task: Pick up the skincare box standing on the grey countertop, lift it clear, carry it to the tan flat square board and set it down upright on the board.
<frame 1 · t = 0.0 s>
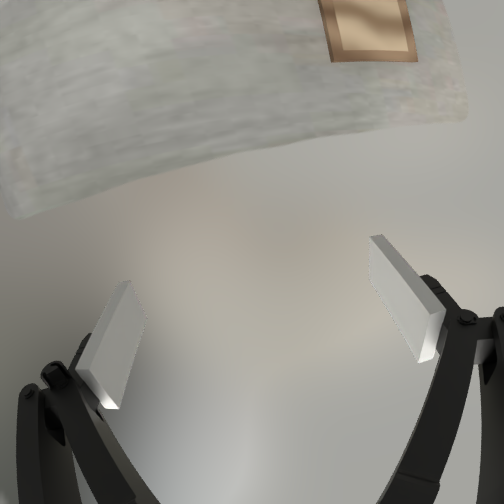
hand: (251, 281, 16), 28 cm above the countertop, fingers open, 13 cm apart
tan flat square board: (366, 19, 31), on the countertop
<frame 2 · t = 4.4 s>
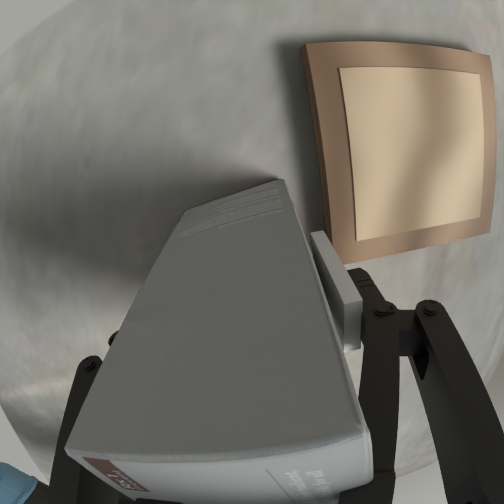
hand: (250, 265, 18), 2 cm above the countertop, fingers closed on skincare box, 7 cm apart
skincare box: (247, 247, 20), on the countertop, touching gripper
tan flat square board: (414, 146, 17), on the countertop
when the fingers open (5 cm above the countertop, at t = 9.7 s): skincare box drops 1 cm, resting on tan flat square board.
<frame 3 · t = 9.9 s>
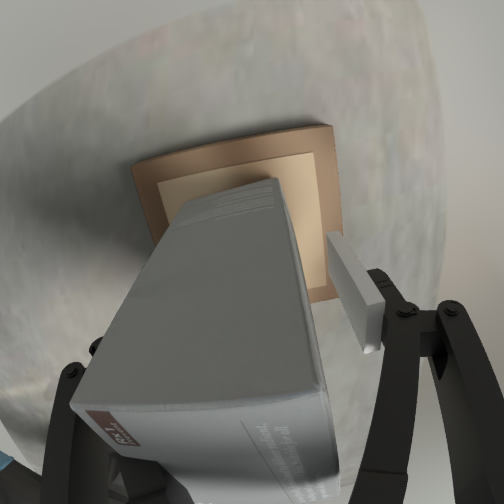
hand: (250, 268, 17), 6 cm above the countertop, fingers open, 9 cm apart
skincare box: (241, 239, 21), point 2 cm above the countertop, touching tan flat square board
tan flat square board: (248, 228, 22), on the countertop
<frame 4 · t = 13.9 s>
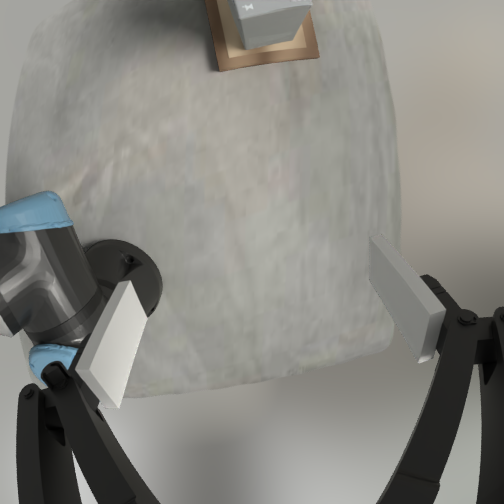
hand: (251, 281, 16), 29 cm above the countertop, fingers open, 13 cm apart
skincare box: (256, 18, 31), point 1 cm above the countertop, touching tan flat square board
tan flat square board: (260, 20, 32), on the countertop
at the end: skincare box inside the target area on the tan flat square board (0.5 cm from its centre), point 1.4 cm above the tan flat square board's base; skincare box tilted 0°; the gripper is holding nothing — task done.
